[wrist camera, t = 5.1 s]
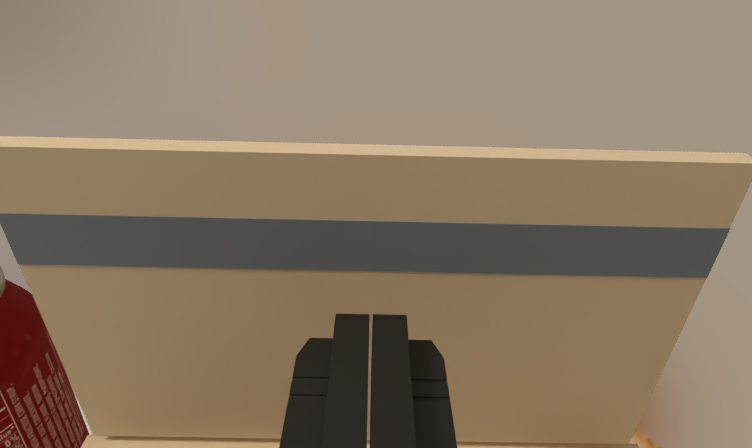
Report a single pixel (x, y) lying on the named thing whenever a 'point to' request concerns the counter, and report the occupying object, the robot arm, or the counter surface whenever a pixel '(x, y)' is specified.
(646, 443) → the counter surface
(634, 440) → the counter surface
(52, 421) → the soda can
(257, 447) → the carton
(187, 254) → the flap
